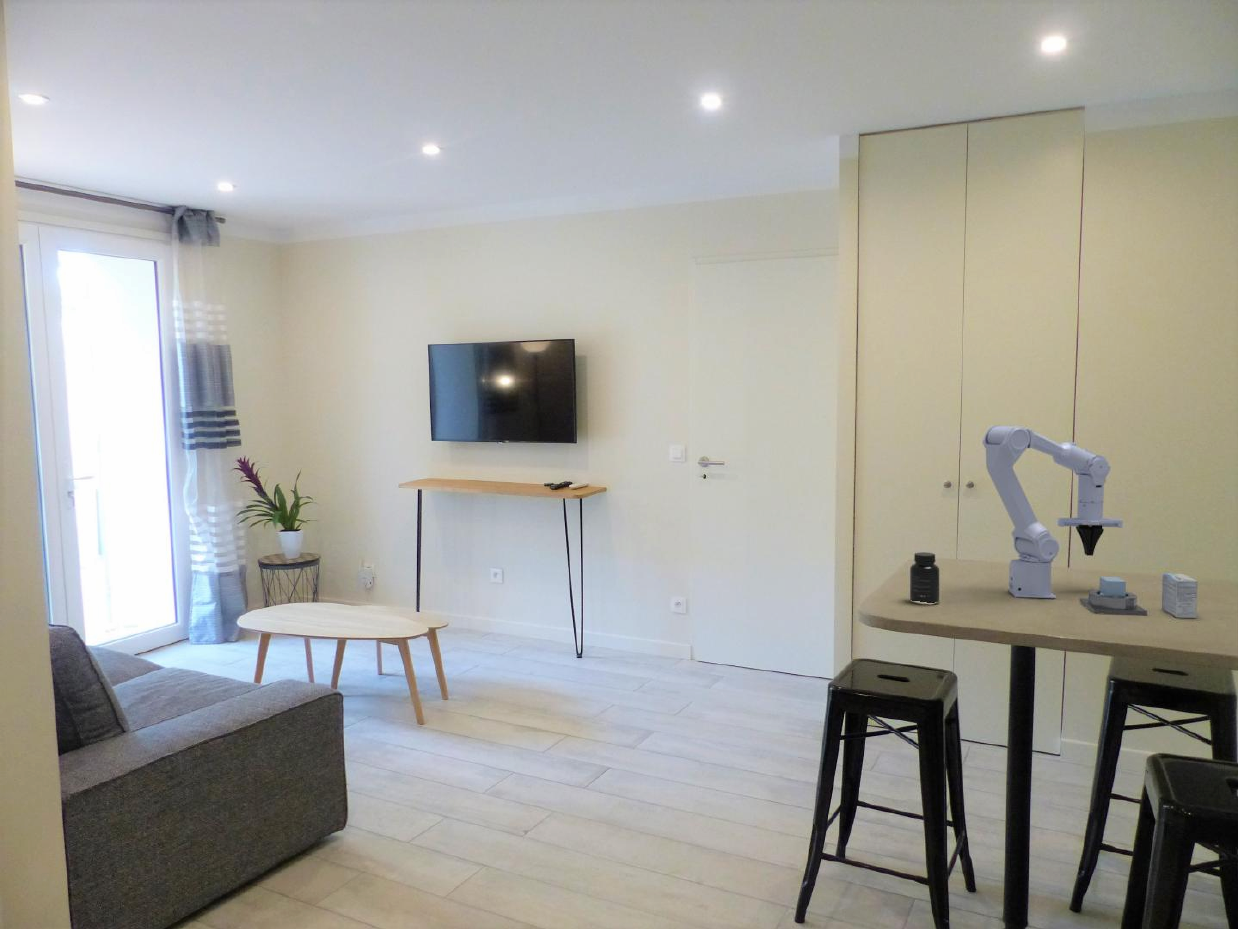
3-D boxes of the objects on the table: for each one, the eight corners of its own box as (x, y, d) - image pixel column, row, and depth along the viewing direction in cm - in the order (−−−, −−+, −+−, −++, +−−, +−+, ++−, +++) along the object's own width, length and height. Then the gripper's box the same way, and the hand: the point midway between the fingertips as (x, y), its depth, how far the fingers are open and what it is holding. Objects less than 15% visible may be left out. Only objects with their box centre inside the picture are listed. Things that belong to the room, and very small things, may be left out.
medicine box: (1197, 619, 195) (1199, 580, 194) (1175, 618, 196) (1176, 580, 195) (1182, 610, 202) (1183, 573, 202) (1160, 609, 203) (1162, 573, 203)
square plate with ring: (1094, 613, 200) (1094, 598, 200) (1079, 602, 211) (1079, 587, 211) (1146, 615, 198) (1147, 600, 198) (1129, 603, 209) (1129, 589, 209)
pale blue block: (1103, 606, 203) (1104, 581, 202) (1096, 601, 208) (1097, 576, 207) (1127, 607, 202) (1128, 581, 201) (1119, 602, 207) (1120, 577, 206)
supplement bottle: (913, 597, 218) (913, 550, 217) (941, 600, 215) (942, 552, 214) (906, 603, 212) (907, 555, 211) (936, 606, 209) (936, 557, 208)
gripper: (1063, 503, 218) (1062, 557, 219) (1127, 504, 215) (1125, 558, 216) (1056, 500, 225) (1054, 552, 226) (1117, 500, 222) (1115, 553, 223)
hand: (1088, 554), depth 221 cm, fingers closed
